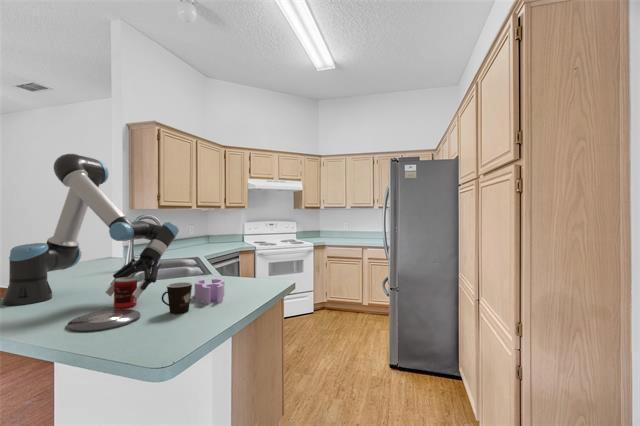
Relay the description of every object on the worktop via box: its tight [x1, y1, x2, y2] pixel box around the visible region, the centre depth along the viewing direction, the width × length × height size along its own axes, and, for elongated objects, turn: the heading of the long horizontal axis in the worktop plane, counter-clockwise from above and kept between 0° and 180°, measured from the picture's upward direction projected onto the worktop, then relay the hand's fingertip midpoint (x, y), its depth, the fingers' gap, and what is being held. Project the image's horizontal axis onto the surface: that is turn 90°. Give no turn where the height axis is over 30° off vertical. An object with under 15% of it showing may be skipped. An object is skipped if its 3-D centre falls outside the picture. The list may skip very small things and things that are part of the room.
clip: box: [193, 277, 225, 305], centre depth 135 cm, size 20×12×7 cm, turn 27°
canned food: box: [113, 276, 138, 310], centre depth 121 cm, size 8×8×11 cm
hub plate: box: [67, 309, 141, 333], centre depth 104 cm, size 20×20×1 cm
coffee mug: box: [161, 281, 193, 315], centre depth 114 cm, size 12×9×10 cm
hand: (121, 295), depth 119 cm, fingers open, 13 cm apart
